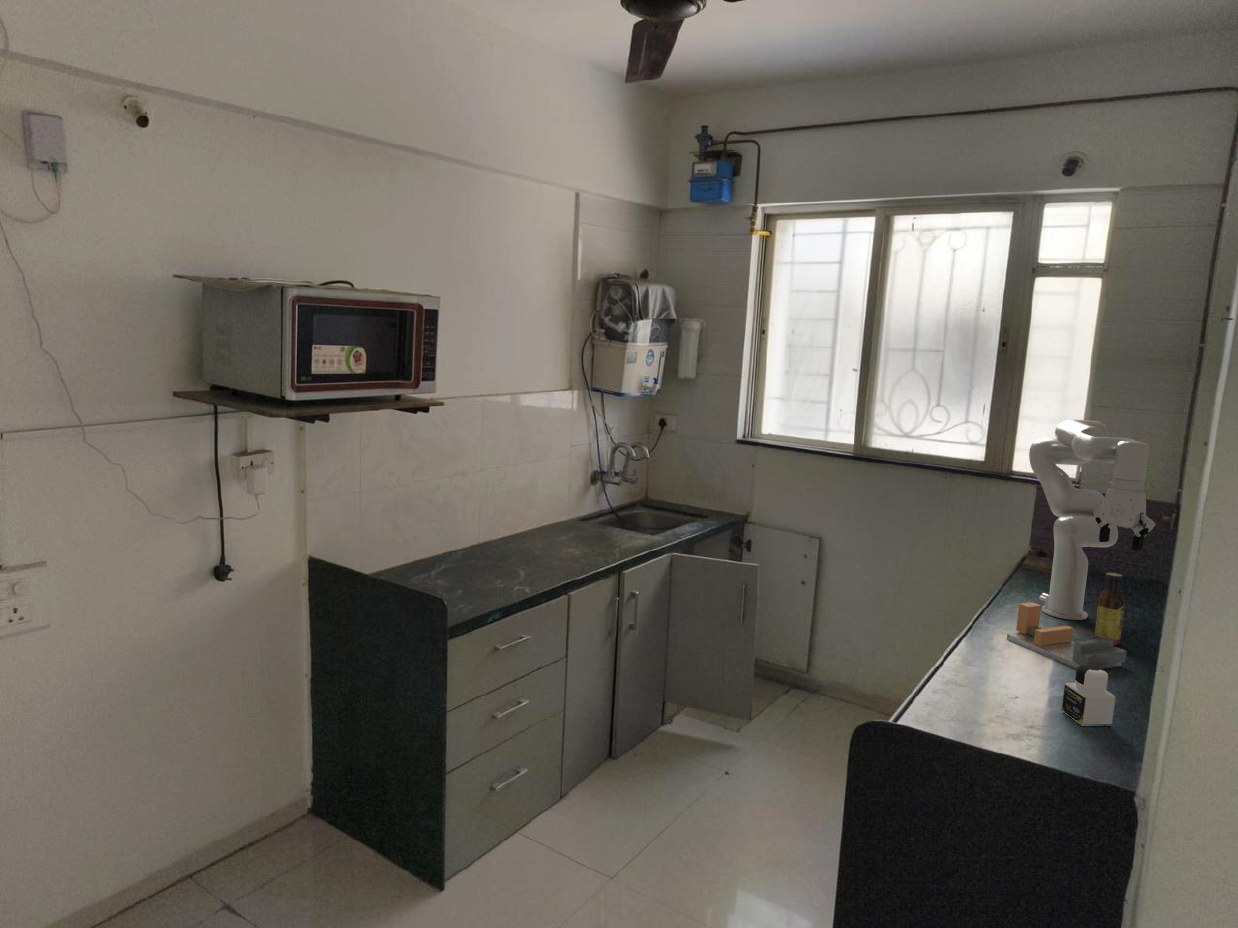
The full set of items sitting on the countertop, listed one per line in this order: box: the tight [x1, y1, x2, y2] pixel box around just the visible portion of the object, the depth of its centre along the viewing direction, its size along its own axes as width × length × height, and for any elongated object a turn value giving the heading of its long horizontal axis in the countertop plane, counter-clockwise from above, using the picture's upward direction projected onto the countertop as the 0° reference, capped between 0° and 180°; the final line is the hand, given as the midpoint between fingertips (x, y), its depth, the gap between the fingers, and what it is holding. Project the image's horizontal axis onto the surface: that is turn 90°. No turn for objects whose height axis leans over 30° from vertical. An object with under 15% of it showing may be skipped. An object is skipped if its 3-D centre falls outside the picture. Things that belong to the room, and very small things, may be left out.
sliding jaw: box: [1015, 601, 1074, 646], centre depth 222 cm, size 11×12×8 cm
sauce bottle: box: [1094, 572, 1125, 646], centre depth 224 cm, size 6×6×20 cm
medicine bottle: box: [1061, 665, 1116, 725], centre depth 175 cm, size 7×7×12 cm
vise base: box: [1006, 631, 1128, 670], centre depth 215 cm, size 25×14×6 cm, turn 21°
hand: (1119, 545), depth 221 cm, fingers open, 9 cm apart
